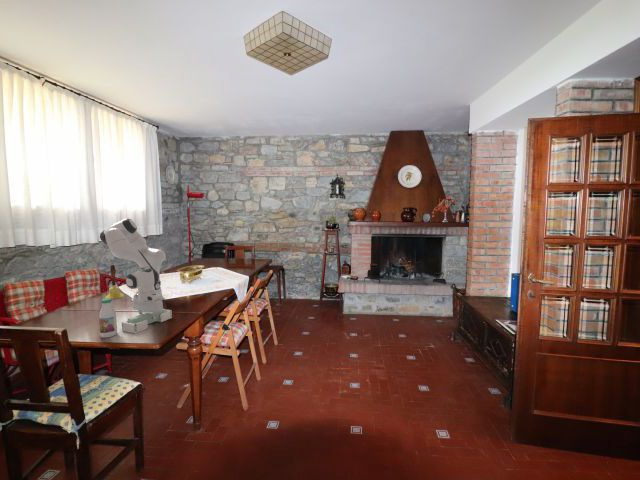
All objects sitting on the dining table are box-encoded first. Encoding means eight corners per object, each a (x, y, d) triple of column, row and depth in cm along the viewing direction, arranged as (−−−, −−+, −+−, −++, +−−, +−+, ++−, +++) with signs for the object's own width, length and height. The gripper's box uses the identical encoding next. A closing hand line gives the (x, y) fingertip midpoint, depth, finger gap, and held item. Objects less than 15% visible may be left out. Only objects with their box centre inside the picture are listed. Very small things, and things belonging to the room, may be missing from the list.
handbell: (117, 299, 241) (115, 266, 238) (101, 299, 241) (98, 266, 239) (127, 294, 253) (125, 263, 251) (112, 294, 253) (110, 263, 251)
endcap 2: (159, 315, 204) (159, 308, 203) (171, 317, 200) (171, 310, 200) (149, 320, 196) (148, 312, 196) (161, 322, 193) (161, 314, 192)
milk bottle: (105, 332, 177) (103, 297, 175) (120, 332, 177) (117, 297, 175) (97, 338, 169) (94, 301, 167) (112, 337, 170) (109, 301, 168)
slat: (131, 329, 180) (131, 319, 179) (128, 327, 181) (127, 318, 181) (165, 317, 198) (165, 309, 197) (162, 317, 199) (162, 308, 199)
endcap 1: (135, 333, 176) (134, 324, 175) (122, 330, 179) (121, 322, 179) (147, 327, 183) (147, 319, 183) (134, 325, 187) (134, 317, 186)
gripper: (128, 295, 189) (130, 317, 190) (155, 298, 182) (156, 322, 183) (138, 292, 194) (139, 314, 196) (164, 295, 188) (165, 318, 189)
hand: (148, 318), depth 189 cm, fingers open, 8 cm apart
